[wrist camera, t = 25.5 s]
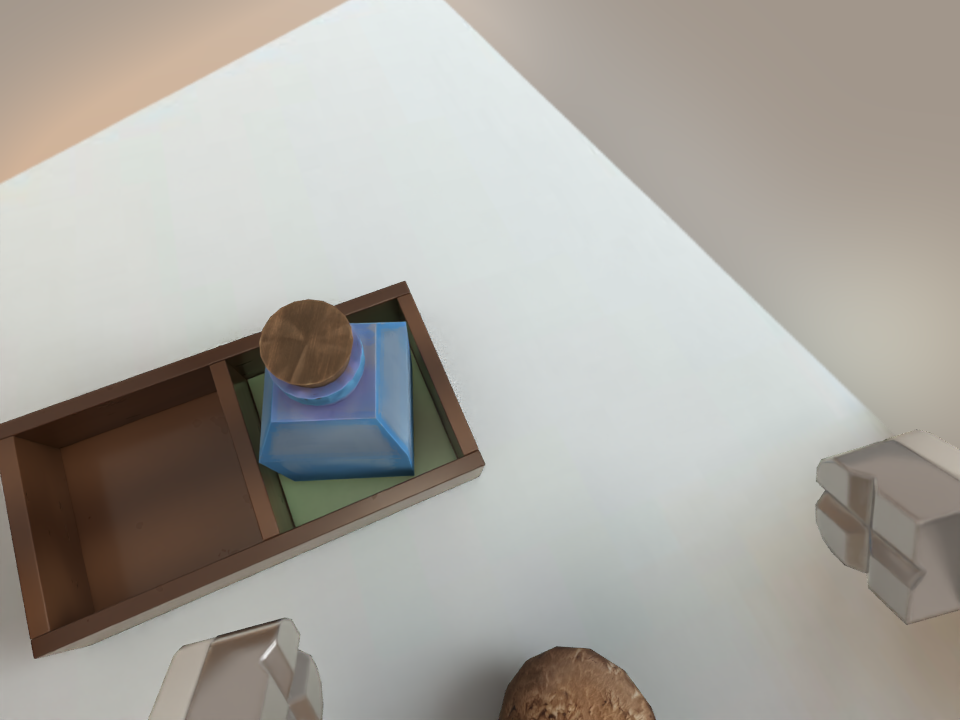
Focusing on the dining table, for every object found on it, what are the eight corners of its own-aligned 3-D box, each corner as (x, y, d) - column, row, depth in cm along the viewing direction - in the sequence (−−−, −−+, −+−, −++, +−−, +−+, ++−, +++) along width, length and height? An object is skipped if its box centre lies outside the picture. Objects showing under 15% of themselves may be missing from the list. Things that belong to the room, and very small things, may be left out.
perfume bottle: (299, 368, 32) (221, 262, 20) (412, 364, 32) (396, 259, 21) (294, 481, 30) (204, 434, 18) (414, 475, 30) (398, 425, 19)
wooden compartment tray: (480, 476, 31) (485, 464, 27) (90, 645, 27) (33, 659, 23) (409, 311, 34) (405, 279, 30) (48, 443, 30) (-9, 426, 26)
